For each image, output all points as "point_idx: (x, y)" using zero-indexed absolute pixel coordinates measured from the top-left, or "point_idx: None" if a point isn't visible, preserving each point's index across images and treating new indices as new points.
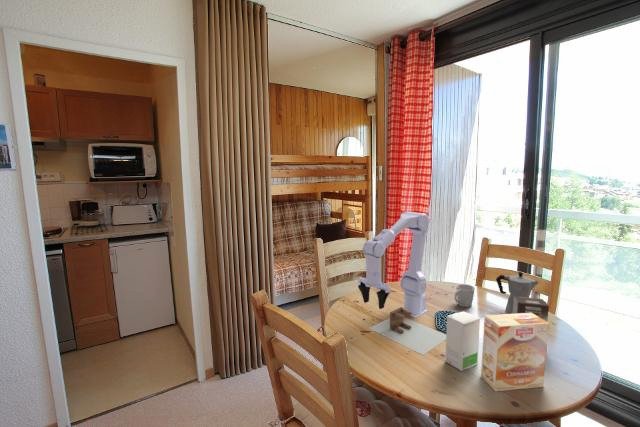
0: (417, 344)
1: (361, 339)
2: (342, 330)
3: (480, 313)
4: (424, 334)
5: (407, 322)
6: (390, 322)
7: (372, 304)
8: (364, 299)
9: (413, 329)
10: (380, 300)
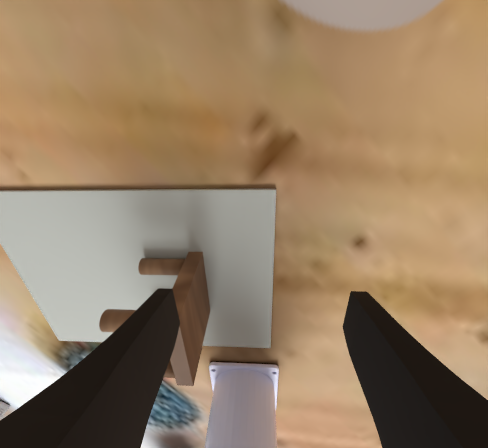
0: (49, 237)
1: (223, 63)
2: (392, 41)
3: None
4: (101, 304)
5: None
6: (191, 274)
7: None
8: (371, 316)
9: None
10: (73, 373)
